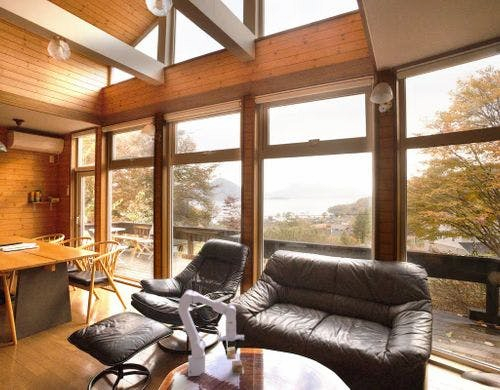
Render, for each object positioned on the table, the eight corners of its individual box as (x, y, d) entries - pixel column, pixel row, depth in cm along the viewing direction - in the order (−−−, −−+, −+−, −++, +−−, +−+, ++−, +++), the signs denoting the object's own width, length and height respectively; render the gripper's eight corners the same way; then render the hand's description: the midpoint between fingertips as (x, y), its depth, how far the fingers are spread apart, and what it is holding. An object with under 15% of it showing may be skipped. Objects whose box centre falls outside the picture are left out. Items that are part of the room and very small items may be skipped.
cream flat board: (229, 375, 160) (229, 374, 160) (228, 367, 169) (228, 366, 169) (249, 373, 162) (249, 372, 162) (247, 365, 171) (247, 364, 171)
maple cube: (227, 359, 162) (227, 351, 162) (226, 355, 166) (226, 347, 167) (235, 358, 163) (235, 350, 163) (234, 355, 167) (234, 346, 167)
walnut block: (233, 373, 162) (233, 365, 162) (232, 368, 167) (232, 361, 167) (242, 372, 163) (242, 364, 163) (240, 367, 167) (241, 360, 168)
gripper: (218, 332, 160) (218, 358, 159) (244, 330, 163) (245, 356, 162) (217, 327, 167) (217, 352, 166) (242, 325, 170) (243, 350, 169)
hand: (230, 353), depth 165 cm, fingers closed on maple cube, 4 cm apart
